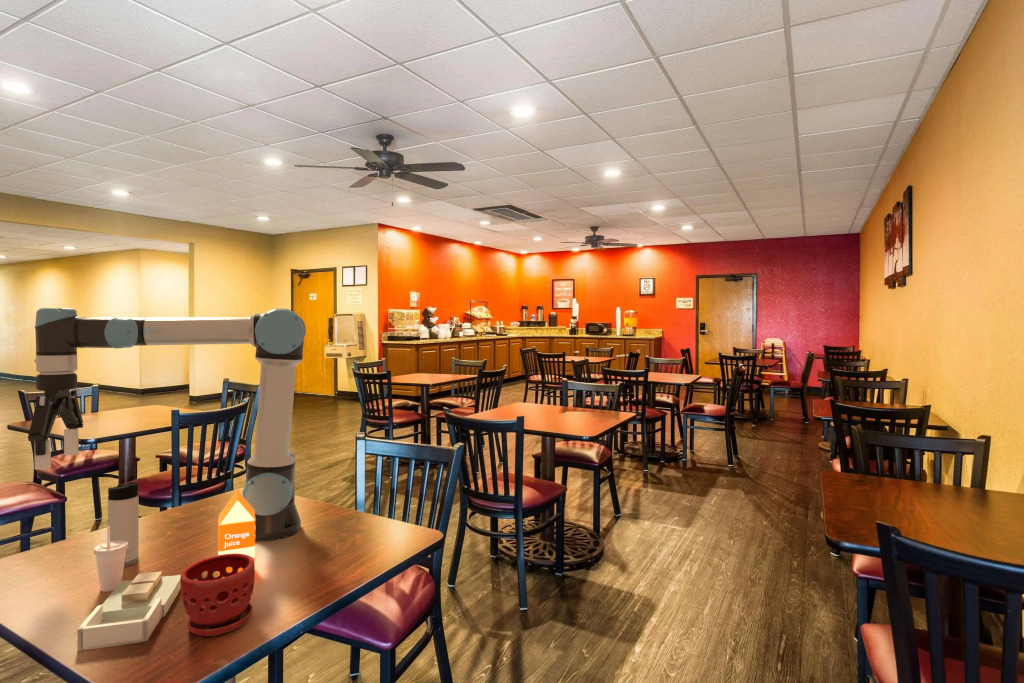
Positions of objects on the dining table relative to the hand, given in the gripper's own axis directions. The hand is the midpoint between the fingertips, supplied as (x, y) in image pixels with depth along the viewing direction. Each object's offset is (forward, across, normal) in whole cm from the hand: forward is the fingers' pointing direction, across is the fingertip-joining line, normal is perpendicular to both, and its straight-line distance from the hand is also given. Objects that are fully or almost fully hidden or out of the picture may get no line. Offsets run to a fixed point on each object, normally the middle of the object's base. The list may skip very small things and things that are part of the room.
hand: (57, 461), depth 129 cm
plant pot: (+27, +35, +41) cm, 60 cm away
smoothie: (+27, +12, +15) cm, 33 cm away
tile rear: (+24, +19, +24) cm, 39 cm away
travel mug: (+27, -2, +13) cm, 30 cm away
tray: (+27, +34, +24) cm, 49 cm away
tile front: (+24, +25, +24) cm, 42 cm away
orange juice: (+27, +14, +41) cm, 51 cm away
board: (+27, +22, +24) cm, 42 cm away
